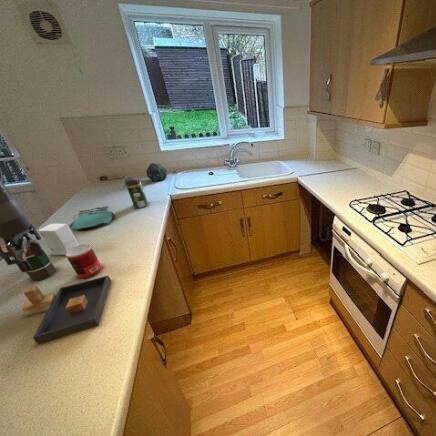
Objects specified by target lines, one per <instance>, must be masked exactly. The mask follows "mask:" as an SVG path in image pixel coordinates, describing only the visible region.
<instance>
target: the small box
mask: <svg viewBox="0 0 436 436" xmlns="http://www.w3.org/2000/svg"><path fill="white" fill-rule="evenodd" d="M37 232H38V234H39V235H40V237H41V239H42V240H43V241H44V243H45V244H46V246H47V247H48V249H49V251H50V252H51V254H52V255H53V256H66V253H67V252H68V251H69V250H70V249H72V248H74V247H76V246H79V245H80V243H79V242H78V240H77V239H76V236H75V235H74V233H73V232H72V230H71V229H70V226H69V225H68V223H49V224H48V225H45V226H44V227H41V228H40V229H38V230H37Z"/></svg>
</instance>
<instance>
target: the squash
mask: <svg viewBox="0 0 436 436" xmlns="http://www.w3.org/2000/svg"><path fill="white" fill-rule="evenodd" d="M146 176H147V178H148V179H149V180H150V181H152V182H159V181H163V180H166V179H167V177H168V172H167V169H166V168H165V167H164V166H163V165H161V164H158V163H154V162H153V163H150V164H149V165H148V167H147V169H146Z"/></svg>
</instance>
